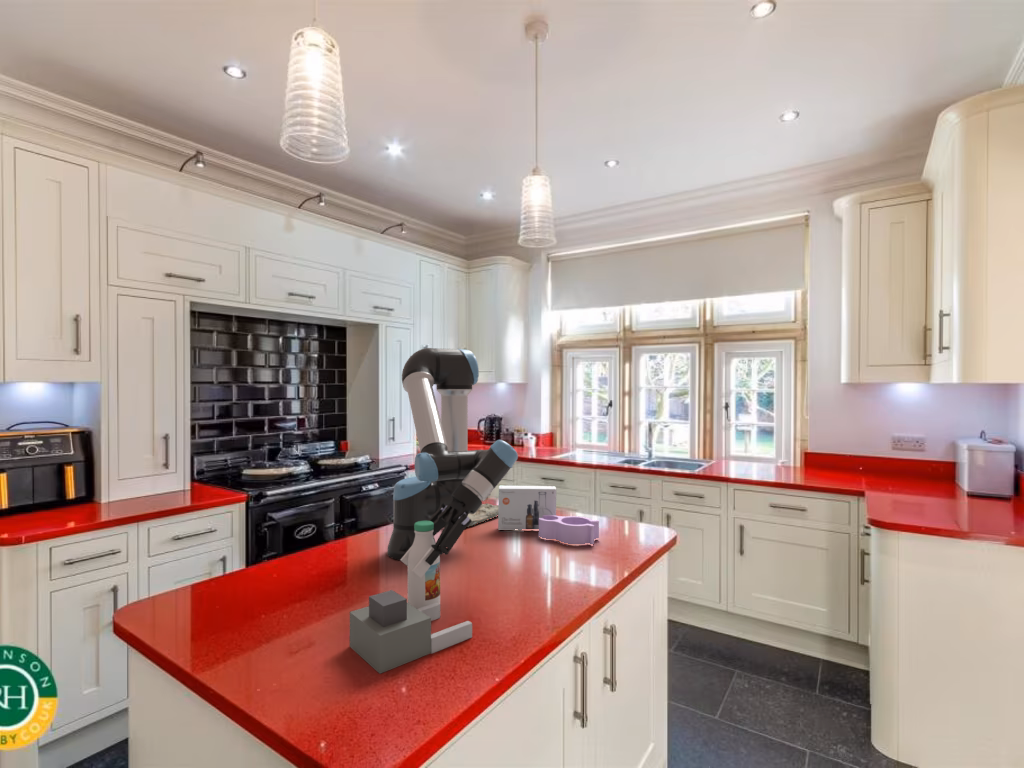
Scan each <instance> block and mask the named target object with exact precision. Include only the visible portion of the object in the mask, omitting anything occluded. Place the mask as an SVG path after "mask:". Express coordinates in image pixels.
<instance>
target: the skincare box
mask: <svg viewBox="0 0 1024 768" xmlns="http://www.w3.org/2000/svg"><path fill="white" fill-rule="evenodd" d="M497 504H498V517H497V519H498V521H497V524H498V525H497V528H498V530H515V529H518V530H522V529H539V518H542V516H543V515H557V487H556V486H554V485H499V486H498V503H497Z"/></svg>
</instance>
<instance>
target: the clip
mask: <svg viewBox="0 0 1024 768" xmlns="http://www.w3.org/2000/svg"><path fill="white" fill-rule="evenodd" d="M539 536H540V537H542V538H546V539H556V540H559V541H561V542H564V543H568V544H585V543H590V544H594V545H595V541H594V539H596V538H599V539H600V520H598V519H592V518H589V517H587V516H577V515H568V516H564V515H563V516H561V515H557V514H556V515H543V516H542V518H539V532H538V537H539Z"/></svg>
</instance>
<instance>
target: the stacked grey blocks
mask: <svg viewBox="0 0 1024 768" xmlns="http://www.w3.org/2000/svg"><path fill="white" fill-rule="evenodd" d="M440 618H441V603H440V604H438V603H434V604H431V605H428V606H424V607H421V608H418V609H416V608H415V607H413V606H412V605H410V604H408V598H406V597H404V596H402V595H401V594H399V593H397V592H396V591H395V590H393V589H390V590H387V591H384V592H380V593H376V594H372V595H369V596H368V606H365V607H362V608H358V609H356V610H355V609H354V610H352V611H349V647H350V648H351V650H353V651H354V652H355V653H356V654H357V655H358V656H359V657H360V658H362V659H363V660H364V661H365V662H366V664H367V663H368V664H369V666H371V668H373V669H374V670H375V671H376V672H377V673H378V674H382V673H383V674H384V673H385V672H388V671H390V670H393V669H395V668H398V667H400V666H403V665H404V664H407V663H410V662H413V661H415V660H418V659H419V658H422V657H425V656H428V655H430V654H431V655H432V654H435V653H437V652H439V651H442V650H444V649H447V648H450V647H452V646H454V645H457V644H459V643H462V642H464V641H466V640H469V639H471V638H473V623H472V622H471V621H469V620H466V621H464V622H461V623H458V624H456V625H452V626H450V627H447V628H444V629H442V630H439V631H437V632H433V633H432V622H433V621H435V620H437V619H438V620H439V619H440Z"/></svg>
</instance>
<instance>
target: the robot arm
mask: <svg viewBox="0 0 1024 768" xmlns="http://www.w3.org/2000/svg"><path fill="white" fill-rule="evenodd" d="M479 372H480V371H479V364H478V359H477V357H476V355H475V354H474V352H473V351H471V350H469V349H463V348H432V347H426V348H421V349H418V350H417V351H415V352H414V353H412V354H411V355H410V356H409V358H408V359H407V360H406V362H405V363H404V366H403V368H402V372H401V382H402V388H403V390H404V391H405V392H407V395H408V396H407V397H408V400H409V404H410V405H409V406H410V409H411V414H412V419H413V423H414V424H413V425H414V428H415V433H416V434H415V435H416V437H417V441H418V442H417V443H418V449H419V453H417V454H416V455H415V457H414V465H413V466H414V474H415V476H410V477H406V478H402V479H400V480H399V481H397V482H396V483H395V484H394V486H393V494H392V499H393V511H392V512H393V517H392V519H393V522H392V523H393V525H392V526H393V528H392V531H391V535H390V538H389V541H388V545H387V556H388V557H389V558H391V559H393V560H398V561H400V562H402V563H403V564H404V565H405V566H406V567H408V556H409V552H410V549H411V547H412V545H413V542H414V539H415V532H414V531H415V529H414V524H415V523H416V522H418V521H432V522H433V523H434V529H433V530H434V531H433V538H434V541H435V543H436V544H435V545H431V547H430V549H429V550H428V551H427V552H426V554H425V555H424V556H423V557H422V559H421V560H420V561H419V562H418V564H417V565H416V566H415V567H414V569H413V570H412V571H413V572H415V573H416V574H417V575H418V576H419V577H420V578H422V576H423V575H424V574H425V573H426V571H427V570H428V569H429V568H430V566H431V565H432V564H433V563H434V561H435V560H436V559H437V558H438V556H439V555H440V556H441V555H443V554H444V555H448V554H449V553H450V551H452V548H453V547H454V546H455V544H456V543H457V541H458V540H459V539H460V537H461V535H462V534H463V532H464V531H465V529H467V528H466V527H467V526H468V525H469V524H470V523H471V522H472V520H471V519H470V518H469V517H468V514H469V513H471V514H474V513H475V512H476V511H477V510H478V509H479V507H480V506H481V505H482V504H483V502H482V501H486V500H487V498H488V497H489V496H491V493H492V492H493V491H494V490H495V488H496V487H497V486H498V485H499V483H500V482H501V481H502V479H504V477H505V476H506V475H507V474H508V472H509V471H510V470H511V469H512V468H513V466H514V465H515V463H516V461H517V460H518V459H519V455H518V452H517V450H515V448H514V447H513V446H512V445H511V444H509V443H508V442H507V441H504V440H502V439H497V440H496V441H494V443H492V444H490V446H489V448H488V449H475V450H474V449H473V450H468V449H469V447H468V436H469V435H468V433H469V432H468V431H469V430H468V421H469V420H468V418H469V416H468V411H469V410H468V407H469V406H468V396H469V394H470V393H471V392H472V391H473V386H474V385H476V384H477V383H478V381H479V375H480V373H479ZM434 385H436V391H437V393H438V394H440V397H441V399H440V401H441V402H440V405H441V407H440V411H441V414H440V411H439V407H438V403H437V400H436V396H435V392H434V388H433V387H434ZM441 530H442V531H441ZM440 531H441V533H440V534H439V536H438V538H437V540H436V539H435V536H436V535H437V534H438V533H439V532H440ZM433 548H434V549H433Z"/></svg>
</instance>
